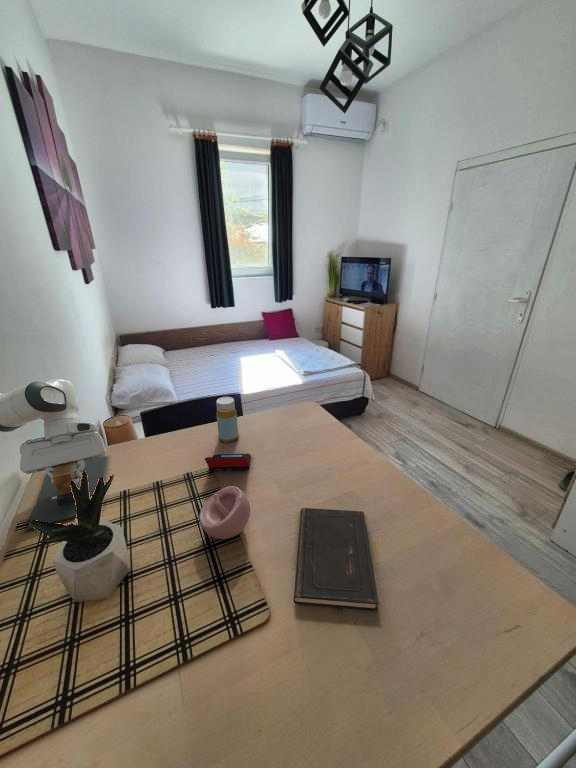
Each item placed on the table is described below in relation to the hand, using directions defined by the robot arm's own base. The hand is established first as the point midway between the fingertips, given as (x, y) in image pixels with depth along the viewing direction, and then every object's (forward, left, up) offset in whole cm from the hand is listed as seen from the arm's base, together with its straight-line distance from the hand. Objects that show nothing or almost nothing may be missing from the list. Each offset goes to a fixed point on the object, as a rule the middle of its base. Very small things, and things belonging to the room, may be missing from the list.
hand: (67, 480), depth 90 cm
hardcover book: (+57, -47, -5) cm, 74 cm away
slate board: (0, +3, -5) cm, 6 cm away
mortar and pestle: (+37, -30, -5) cm, 48 cm away
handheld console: (+44, -6, -5) cm, 45 cm away
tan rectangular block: (0, +1, -4) cm, 4 cm away
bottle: (+48, +11, -5) cm, 49 cm away
